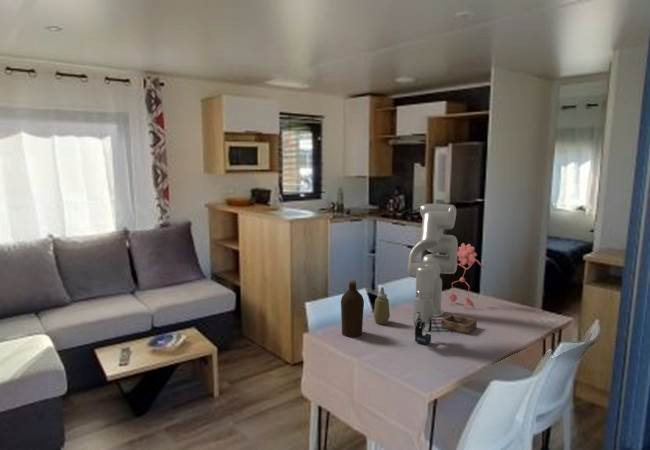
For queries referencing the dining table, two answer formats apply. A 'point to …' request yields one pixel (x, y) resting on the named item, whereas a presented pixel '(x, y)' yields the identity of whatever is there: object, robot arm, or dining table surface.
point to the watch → (424, 333)
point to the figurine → (465, 256)
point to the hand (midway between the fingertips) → (423, 332)
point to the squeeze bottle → (381, 308)
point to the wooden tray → (459, 324)
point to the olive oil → (352, 311)
